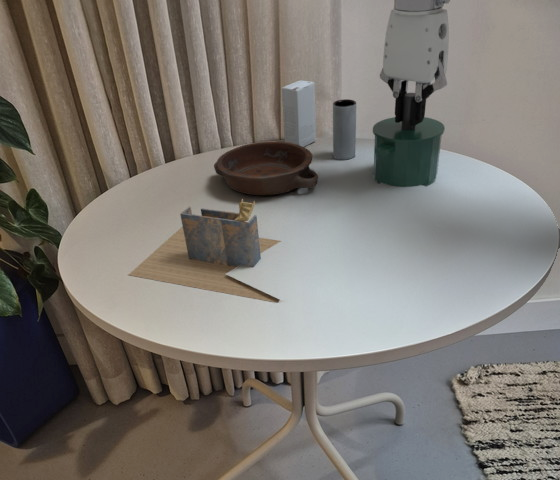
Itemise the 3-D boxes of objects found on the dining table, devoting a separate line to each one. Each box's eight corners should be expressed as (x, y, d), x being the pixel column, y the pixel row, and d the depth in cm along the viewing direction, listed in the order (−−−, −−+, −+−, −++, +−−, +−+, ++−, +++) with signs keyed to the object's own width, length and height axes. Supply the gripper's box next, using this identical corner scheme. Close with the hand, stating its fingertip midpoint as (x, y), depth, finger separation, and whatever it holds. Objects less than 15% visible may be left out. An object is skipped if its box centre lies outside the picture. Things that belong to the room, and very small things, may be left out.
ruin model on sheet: (318, 246, 91) (317, 186, 84) (277, 302, 80) (272, 239, 73) (182, 226, 99) (171, 170, 93) (128, 274, 88) (111, 215, 81)
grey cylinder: (339, 161, 116) (339, 107, 109) (329, 154, 119) (328, 102, 112) (359, 156, 117) (360, 103, 110) (348, 150, 120) (349, 97, 114)
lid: (457, 129, 103) (462, 90, 99) (418, 151, 97) (422, 110, 92) (398, 117, 110) (400, 80, 106) (358, 137, 103) (359, 98, 99)
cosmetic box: (301, 138, 128) (299, 78, 120) (317, 141, 125) (316, 81, 117) (283, 146, 124) (279, 86, 116) (299, 150, 122) (296, 89, 114)
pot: (455, 168, 110) (461, 122, 104) (405, 200, 101) (409, 151, 95) (404, 155, 116) (407, 111, 110) (352, 184, 107) (353, 138, 102)
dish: (238, 160, 120) (236, 135, 117) (337, 172, 112) (337, 146, 109) (194, 194, 109) (189, 168, 106) (299, 210, 101) (298, 182, 97)
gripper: (477, -1, 87) (460, 124, 100) (389, -7, 96) (383, 109, 108) (452, 8, 83) (437, 137, 96) (362, 1, 92) (359, 120, 104)
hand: (408, 121), depth 102 cm, fingers closed on lid, 2 cm apart
